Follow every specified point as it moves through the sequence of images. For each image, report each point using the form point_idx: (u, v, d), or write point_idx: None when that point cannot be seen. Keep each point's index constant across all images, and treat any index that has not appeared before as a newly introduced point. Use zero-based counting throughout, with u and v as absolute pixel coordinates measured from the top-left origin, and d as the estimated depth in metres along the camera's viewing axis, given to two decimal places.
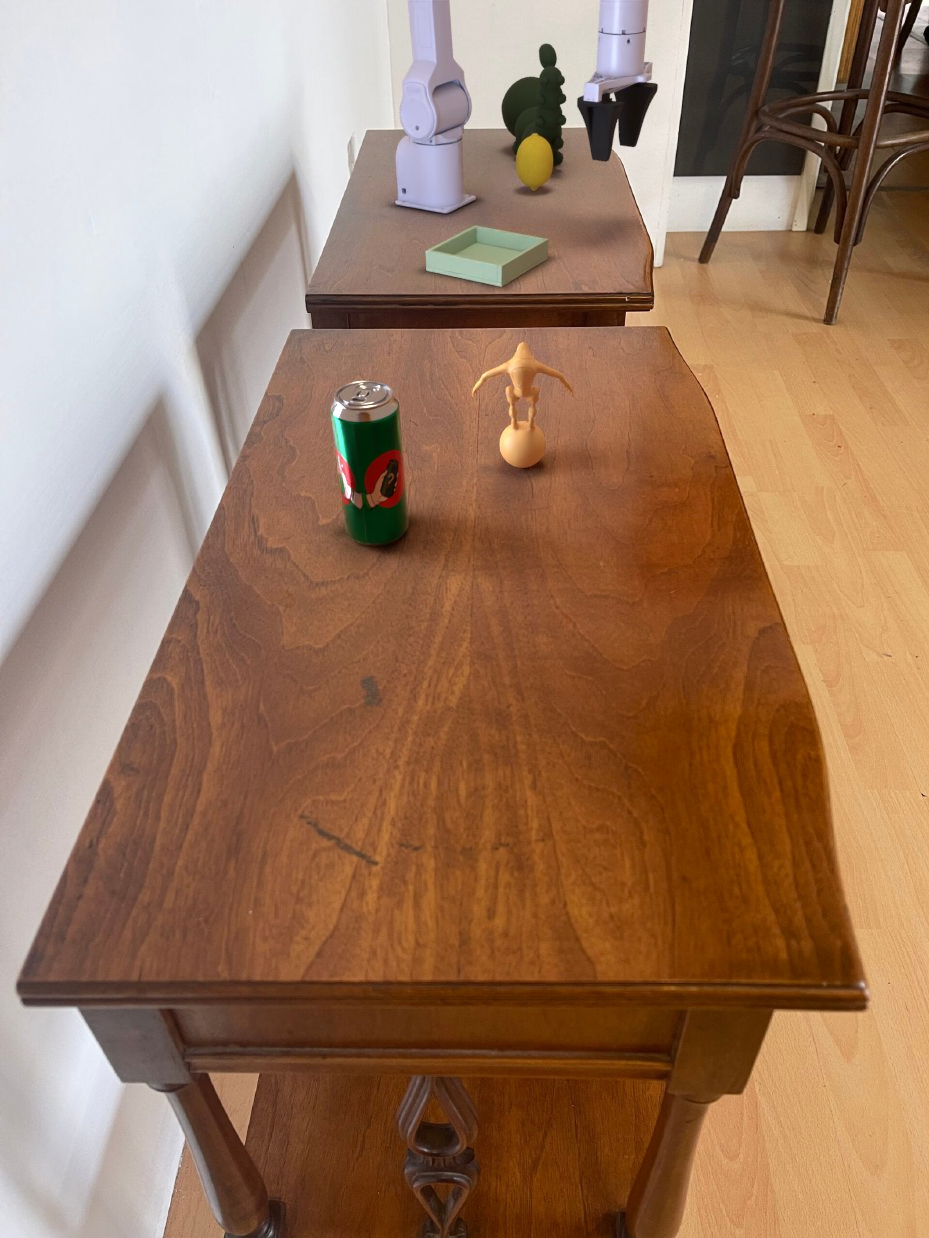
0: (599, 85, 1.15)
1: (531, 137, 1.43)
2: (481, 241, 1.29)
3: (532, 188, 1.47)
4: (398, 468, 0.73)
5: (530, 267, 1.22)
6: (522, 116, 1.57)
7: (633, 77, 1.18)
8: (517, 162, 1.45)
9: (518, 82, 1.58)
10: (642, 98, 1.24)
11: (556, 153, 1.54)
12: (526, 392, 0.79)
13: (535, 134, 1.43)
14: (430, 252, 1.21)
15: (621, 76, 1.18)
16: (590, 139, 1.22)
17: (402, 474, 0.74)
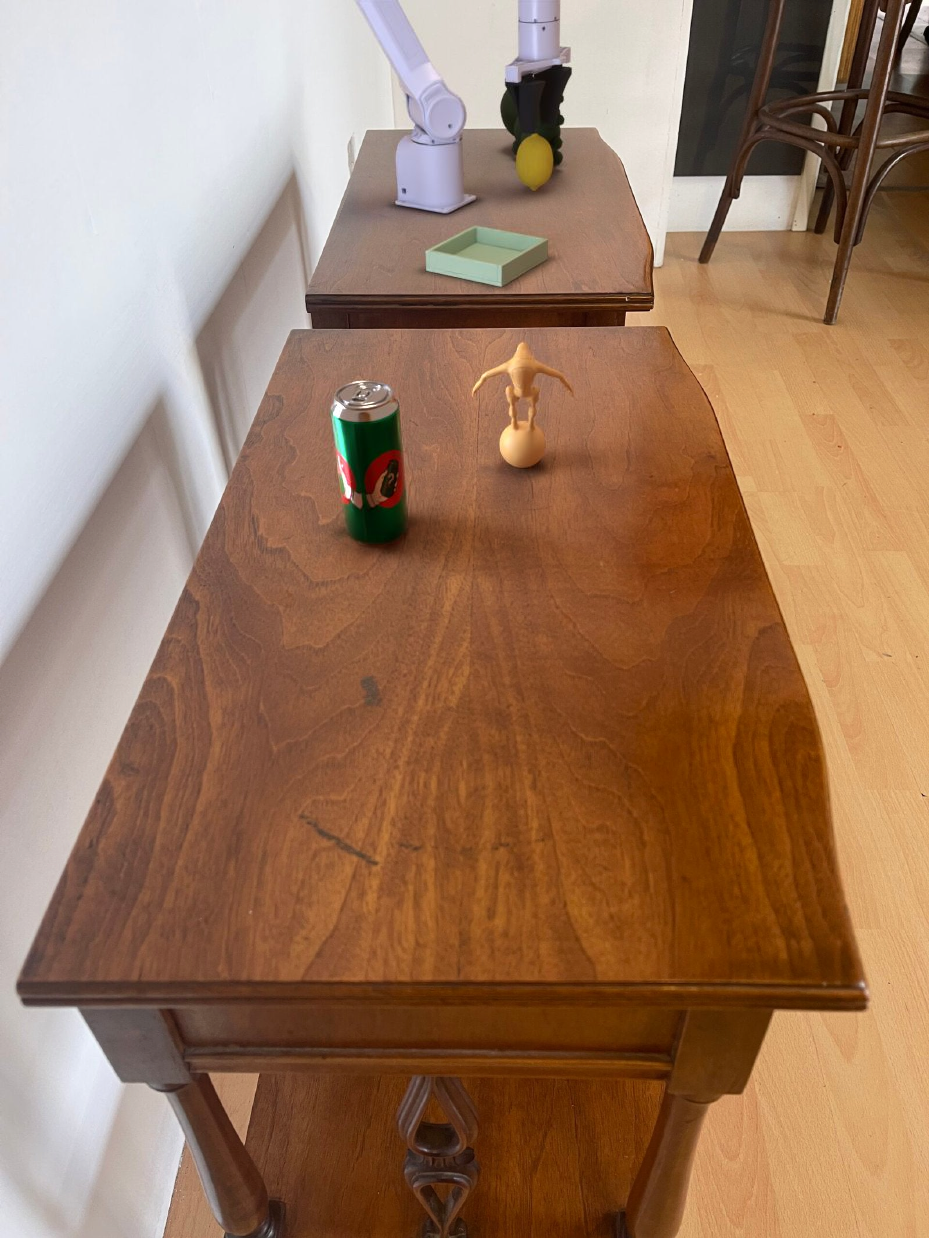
0: (518, 67, 1.32)
1: (531, 137, 1.43)
2: (481, 241, 1.29)
3: (532, 188, 1.47)
4: (398, 469, 0.73)
5: (530, 267, 1.22)
6: None
7: (549, 60, 1.34)
8: (517, 162, 1.45)
9: None
10: (558, 80, 1.40)
11: (555, 153, 1.54)
12: (526, 392, 0.79)
13: (535, 134, 1.43)
14: (430, 252, 1.21)
15: (539, 59, 1.34)
16: (518, 114, 1.39)
17: (402, 474, 0.74)
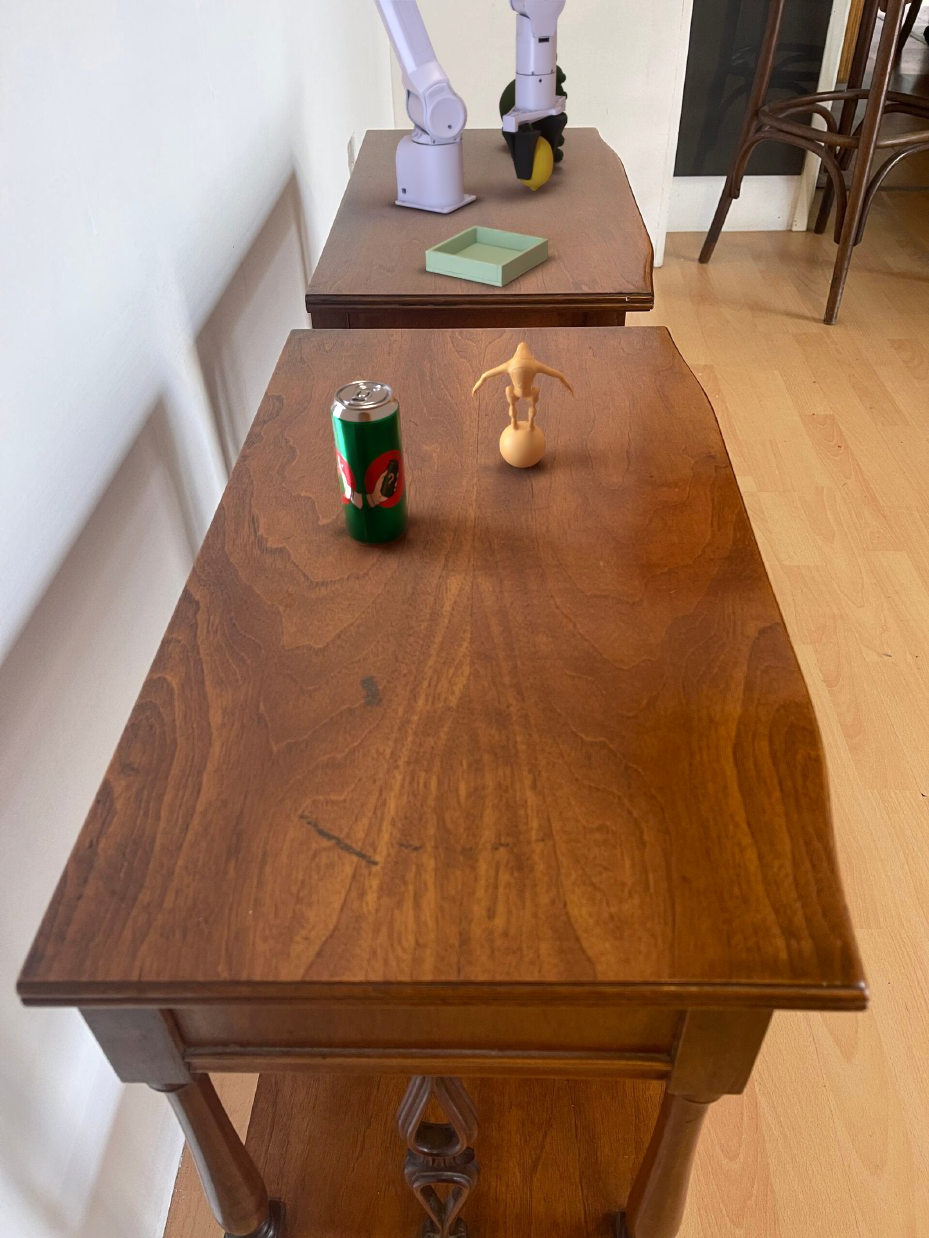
0: (515, 118, 1.36)
1: None
2: (481, 241, 1.29)
3: (532, 188, 1.47)
4: (398, 469, 0.73)
5: (530, 267, 1.22)
6: None
7: (545, 110, 1.39)
8: None
9: None
10: (554, 129, 1.44)
11: (556, 150, 1.55)
12: (526, 392, 0.79)
13: None
14: (430, 252, 1.21)
15: (535, 110, 1.38)
16: (514, 161, 1.43)
17: (402, 474, 0.74)
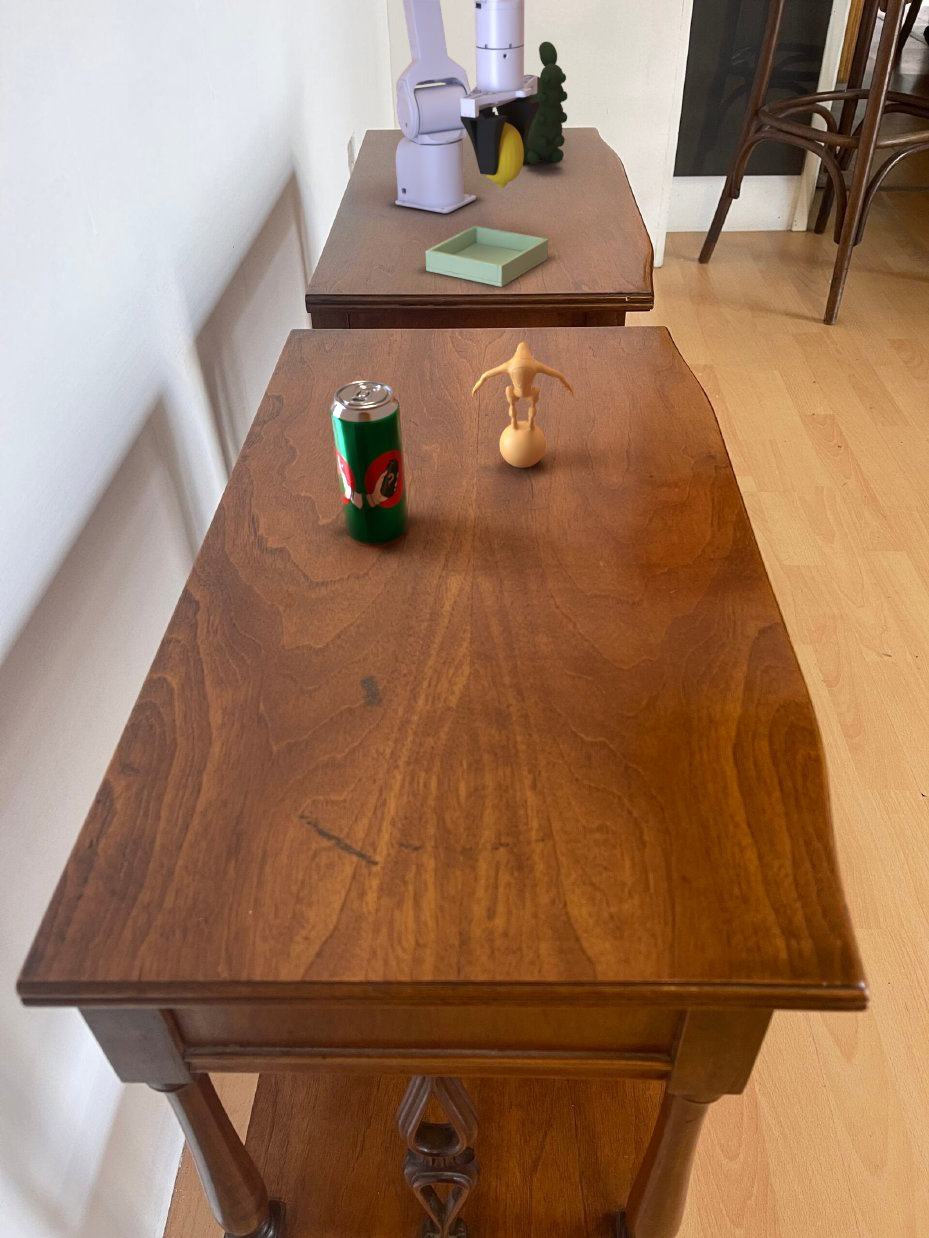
0: (475, 100, 1.13)
1: None
2: (481, 241, 1.29)
3: (499, 185, 1.25)
4: (398, 469, 0.73)
5: (530, 267, 1.22)
6: None
7: (511, 92, 1.16)
8: None
9: None
10: (523, 114, 1.22)
11: (556, 150, 1.55)
12: (526, 392, 0.79)
13: None
14: (430, 252, 1.21)
15: (499, 91, 1.16)
16: (476, 152, 1.21)
17: (402, 474, 0.74)
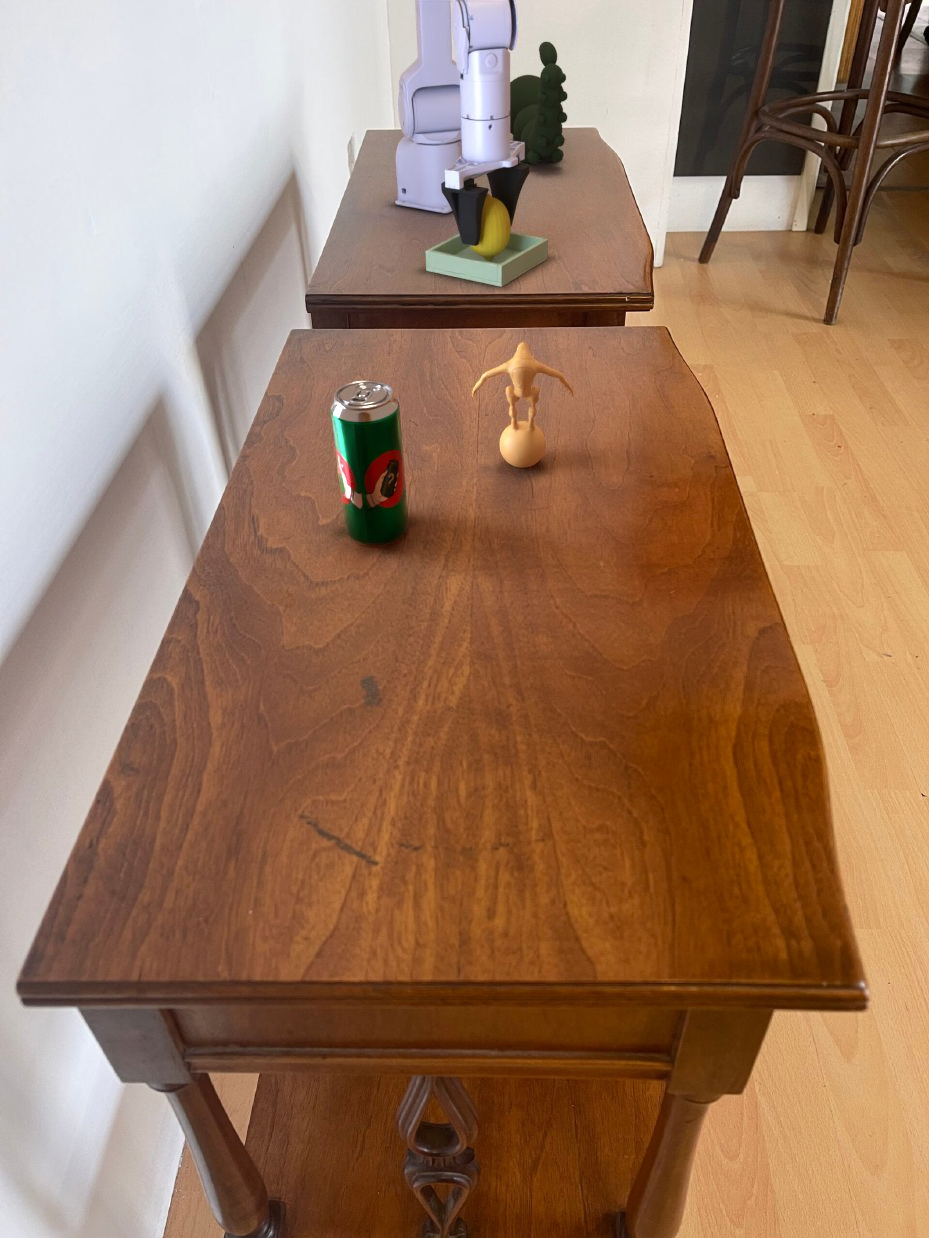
0: (459, 173, 1.11)
1: None
2: None
3: (486, 258, 1.23)
4: (398, 469, 0.73)
5: (530, 267, 1.22)
6: (521, 114, 1.58)
7: (497, 162, 1.14)
8: None
9: (516, 80, 1.60)
10: (513, 180, 1.20)
11: (556, 150, 1.55)
12: (526, 392, 0.79)
13: (488, 196, 1.19)
14: (430, 252, 1.21)
15: (485, 161, 1.14)
16: (458, 223, 1.18)
17: (402, 474, 0.74)
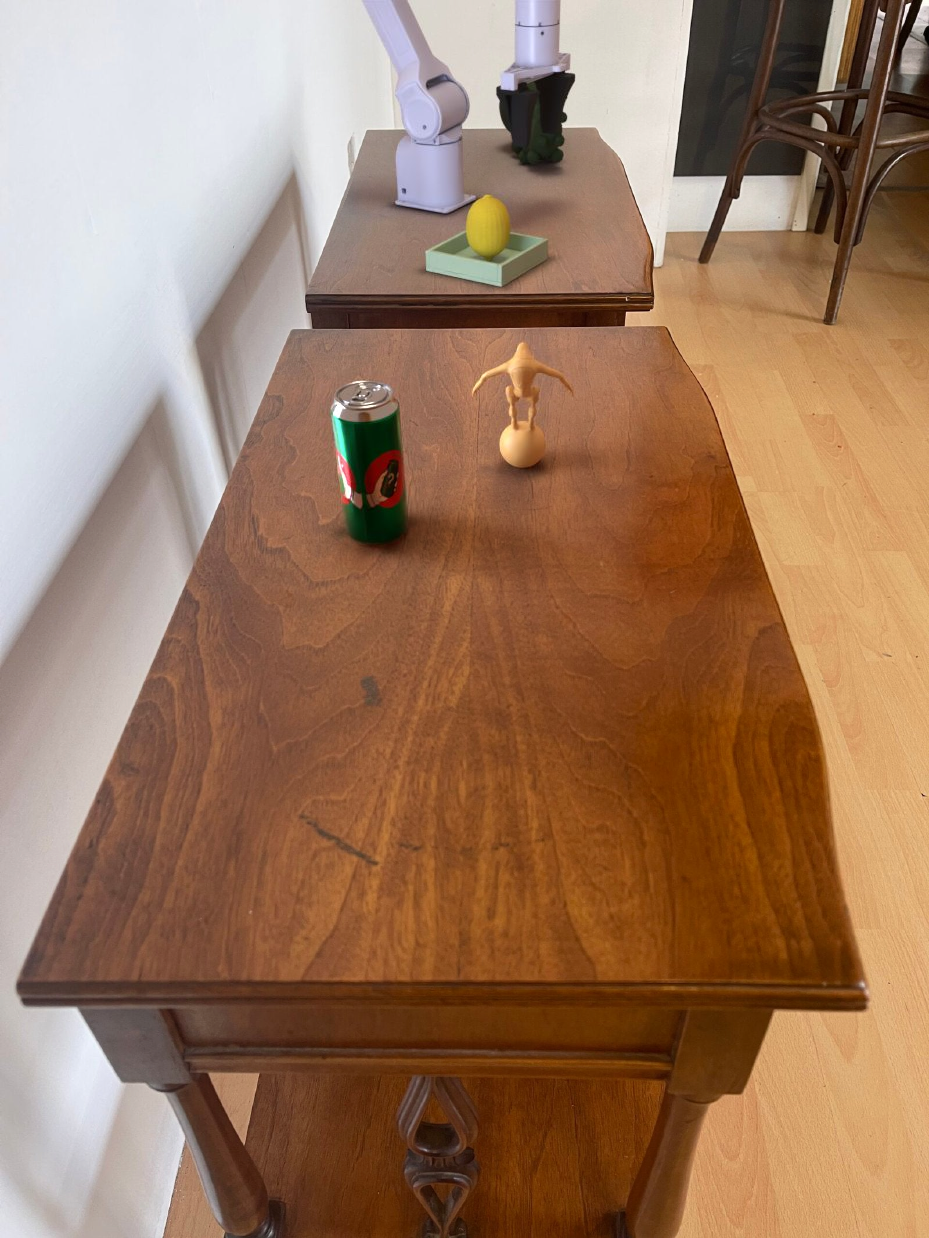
0: (514, 74, 1.22)
1: (483, 199, 1.19)
2: None
3: (486, 258, 1.23)
4: (398, 469, 0.73)
5: (530, 267, 1.22)
6: None
7: (548, 67, 1.25)
8: (467, 228, 1.21)
9: None
10: (560, 88, 1.31)
11: (556, 150, 1.55)
12: (526, 392, 0.79)
13: (488, 196, 1.19)
14: (430, 252, 1.21)
15: (537, 66, 1.25)
16: (510, 126, 1.29)
17: (402, 474, 0.74)
